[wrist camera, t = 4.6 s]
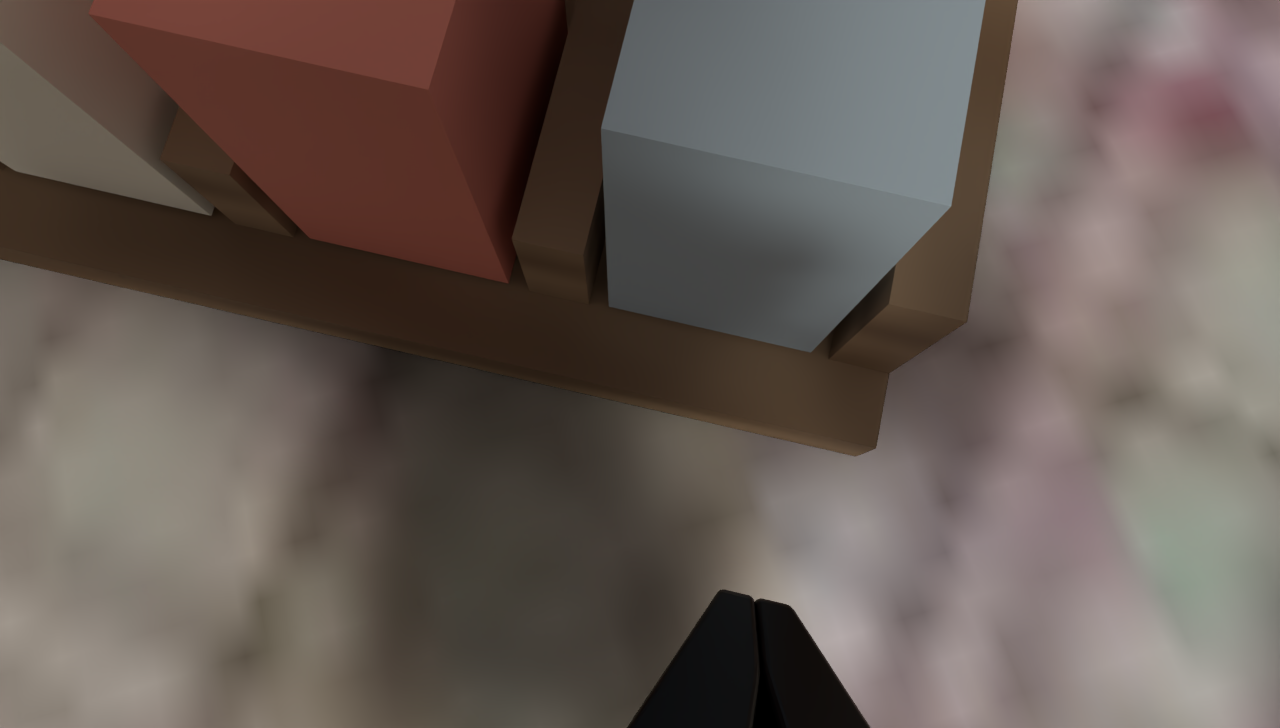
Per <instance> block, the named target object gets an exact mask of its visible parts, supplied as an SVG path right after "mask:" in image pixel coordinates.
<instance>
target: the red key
mask: <svg viewBox="0 0 1280 728" xmlns="http://www.w3.org/2000/svg"><path fill="white" fill-rule="evenodd" d="M88 14H89V15H90V16H91V17H92V18H93V19H94V20H95V21H96V22H97V23H98V24H99V25H100V26H101V27H102V28H103V29H104V30H105V31H106V32H107V33H108V34H109V36H110V37H111V38H112V39H113V40H114V41H115V42H116V43H117V44H118V45H119V46H120V47H121V48H122V49H123V50H124V51H125V52H126V53H127V54H128V55H129V56H130V57H131V58H132V59H133V60H134V61H135V62H136V63H137V64H138V65H139V66H140V67H141V68H142V69H143V70H144V71H145V72H146V73H147V74H148V75H149V76H150V77H151V78H152V79H153V80H154V81H155V82H156V83H157V84H158V85H159V86H160V87H161V88H162V89H163V90H164V91H165V92H166V93H167V94H168V95H169V96H170V97H171V98H172V99H173V100H174V101H175V102H176V103H177V104H178V105H179V106H180V107H181V108H182V109H183V110H184V111H185V112H186V113H187V114H188V115H189V117H190V118H191V119H192V120H193V121H194V122H195V123H196V124H197V125H198V126H199V127H200V128H201V129H202V130H203V131H204V132H205V133H206V134H207V135H208V136H209V137H210V138H211V139H212V140H213V141H214V142H215V143H216V144H217V145H218V146H219V147H220V148H221V149H222V150H223V151H224V152H225V153H226V154H227V155H228V156H229V157H230V158H231V159H232V160H233V161H234V162H235V163H236V164H237V165H238V166H239V167H240V168H241V169H242V170H243V171H244V172H245V173H246V174H247V175H248V176H249V177H250V178H251V179H252V180H253V181H254V182H255V183H256V184H257V185H258V186H259V187H260V188H261V189H262V190H263V191H264V192H265V193H266V194H267V195H268V196H269V198H270V199H271V200H272V201H273V202H274V203H275V204H276V205H277V206H278V207H279V208H280V209H281V210H282V211H283V212H284V213H285V214H286V215H287V216H288V217H289V218H290V219H291V220H292V221H293V222H294V223H295V224H296V225H297V226H298V227H299V228H300V229H301V230H302V231H303V232H304V233H305V234H306V235H307V236H308V237H309V238H310V239H315V240H319V241H324V242H328V243H332V244H337V245H341V246H345V247H350V248H354V249H359V250H363V251H367V252H372V253H376V254H381V255H385V256H389V257H394V258H398V259H402V260H407V261H411V262H416V263H420V264H424V265H429V266H433V267H438V268H442V269H446V270H451V271H455V272H459V273H464V274H468V275H473V276H477V277H481V278H486V279H490V280H495V281H499V282H503V283H508V284H509V280H510V277H511V273H512V269H513V265H514V262H515V258H516V254H517V253H516V250H515V248H514V245H513V242H512V236H513V232H514V229H515V225H516V222H517V218H518V214H519V211H520V207H521V203H522V200H523V196H524V192H525V189H526V185H527V181H528V178H529V174H530V170H531V167H532V163H533V159H534V156H535V152H536V148H537V145H538V141H539V137H540V134H541V130H542V126H543V123H544V119H545V115H546V112H547V108H548V105H549V101H550V97H551V94H552V90H553V86H554V83H555V79H556V75H557V72H558V68H559V64H560V61H561V57H562V53H563V50H564V46H565V42H566V39H567V35H568V29H567V19H566V9H565V0H93V3H92V5H91V8H90V10H89V13H88Z"/></svg>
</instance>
